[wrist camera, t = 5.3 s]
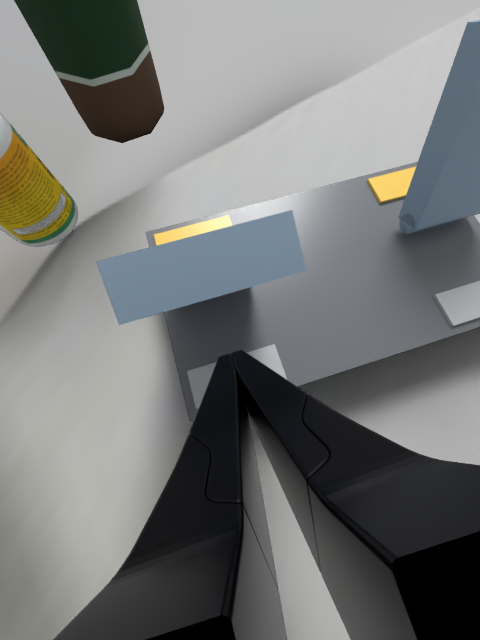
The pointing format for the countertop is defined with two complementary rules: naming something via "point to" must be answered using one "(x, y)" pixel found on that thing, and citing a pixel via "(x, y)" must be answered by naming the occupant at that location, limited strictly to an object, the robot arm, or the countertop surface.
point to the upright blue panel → (450, 148)
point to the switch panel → (333, 287)
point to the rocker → (202, 266)
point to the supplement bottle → (31, 194)
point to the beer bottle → (100, 62)
